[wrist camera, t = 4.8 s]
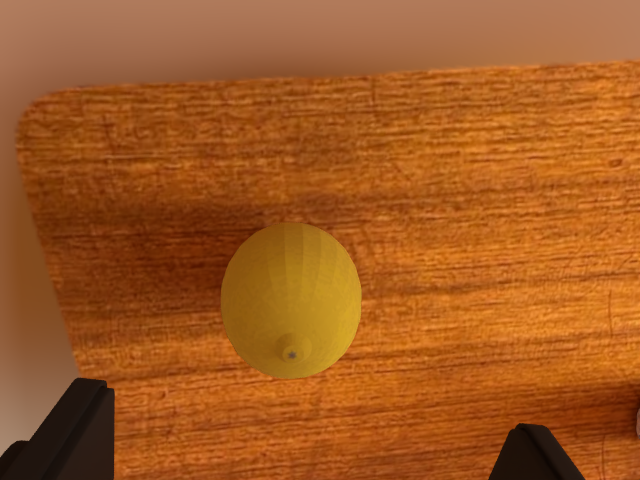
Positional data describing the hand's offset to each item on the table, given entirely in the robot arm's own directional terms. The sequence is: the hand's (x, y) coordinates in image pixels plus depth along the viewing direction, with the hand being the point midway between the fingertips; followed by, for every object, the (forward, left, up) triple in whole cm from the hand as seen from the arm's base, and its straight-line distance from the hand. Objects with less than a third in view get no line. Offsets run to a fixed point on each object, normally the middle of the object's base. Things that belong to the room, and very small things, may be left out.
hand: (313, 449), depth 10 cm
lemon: (0, 0, -12) cm, 12 cm away
